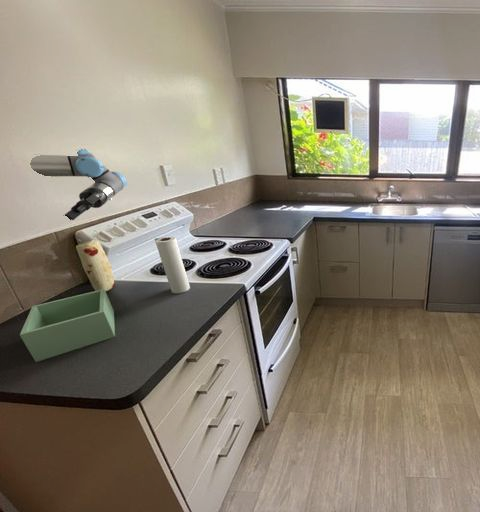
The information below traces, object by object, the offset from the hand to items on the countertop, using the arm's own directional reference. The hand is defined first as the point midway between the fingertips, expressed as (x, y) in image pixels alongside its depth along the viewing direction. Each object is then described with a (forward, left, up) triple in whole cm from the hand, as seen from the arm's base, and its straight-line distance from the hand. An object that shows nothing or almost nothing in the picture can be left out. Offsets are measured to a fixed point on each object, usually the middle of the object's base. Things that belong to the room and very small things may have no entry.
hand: (57, 225), depth 103 cm
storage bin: (+36, 0, -26) cm, 45 cm away
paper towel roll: (+24, +28, -27) cm, 46 cm away
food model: (+4, +6, -27) cm, 27 cm away
